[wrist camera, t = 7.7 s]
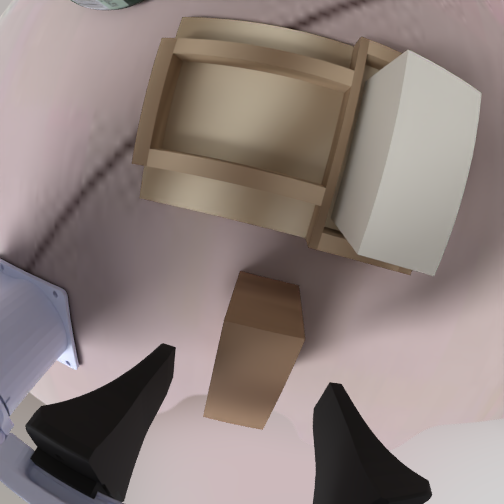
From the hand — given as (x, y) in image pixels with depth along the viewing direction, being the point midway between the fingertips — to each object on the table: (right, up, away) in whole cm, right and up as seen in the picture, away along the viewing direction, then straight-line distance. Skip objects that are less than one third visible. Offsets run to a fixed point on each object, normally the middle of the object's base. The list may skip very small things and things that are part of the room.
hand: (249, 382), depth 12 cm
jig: (+2, +12, 0) cm, 12 cm away
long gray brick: (+6, +10, 0) cm, 12 cm away
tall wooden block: (0, +2, +4) cm, 5 cm away
